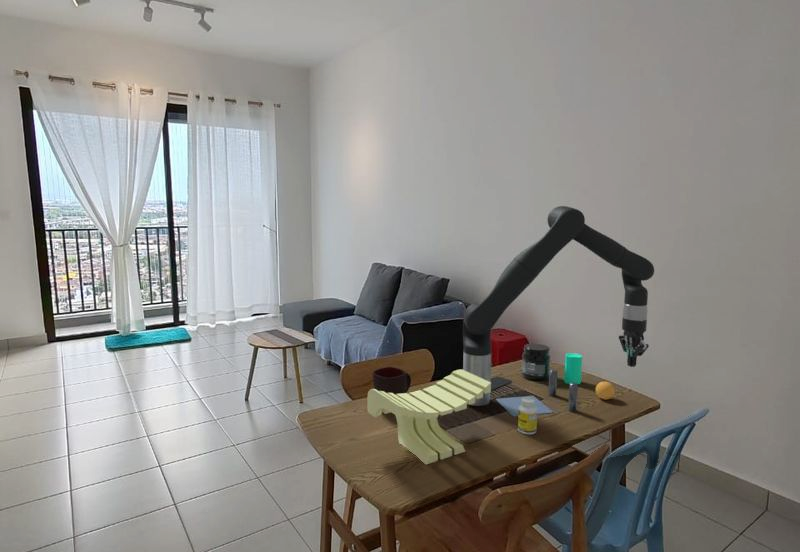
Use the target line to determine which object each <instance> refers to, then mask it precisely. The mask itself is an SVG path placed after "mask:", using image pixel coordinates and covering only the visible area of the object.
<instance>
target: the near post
mask: <svg viewBox="0 0 800 552" xmlns="http://www.w3.org/2000/svg"><path fill="white" fill-rule="evenodd" d="M568 391H569V392H568V407H567V408H568V411H569V412H570V413H577V411H578V397H579V396H578V395H579V385H578V384H577V383H574V382H572V383H570V384H569V390H568Z"/></svg>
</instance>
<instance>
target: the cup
mask: <svg viewBox="0 0 800 552" xmlns="http://www.w3.org/2000/svg"><path fill="white" fill-rule="evenodd" d="M372 383H373V389H376V390H378V391H384V392H385V393H393V394H395V395H396V394H402V393H407V394H408V391H409V389H410V387H411V383H412V378H411V375H410V374H409V373H408V372H406V370H403V369H402V368H398V367H394V366H386V367H382V368H377V369H375V370H374V371H372Z"/></svg>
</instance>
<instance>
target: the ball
mask: <svg viewBox="0 0 800 552" xmlns="http://www.w3.org/2000/svg"><path fill="white" fill-rule="evenodd" d="M615 393H616V392H615V388H614V386H613V385H612V384H611V382H609V381H600V382H599V383H598V384H597V385H596V386H595V394H596V395H597V397H599V399H602V400H605V401H606V400H609V399H610V400H611V399H612V398H613V397H614V395H615Z"/></svg>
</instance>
